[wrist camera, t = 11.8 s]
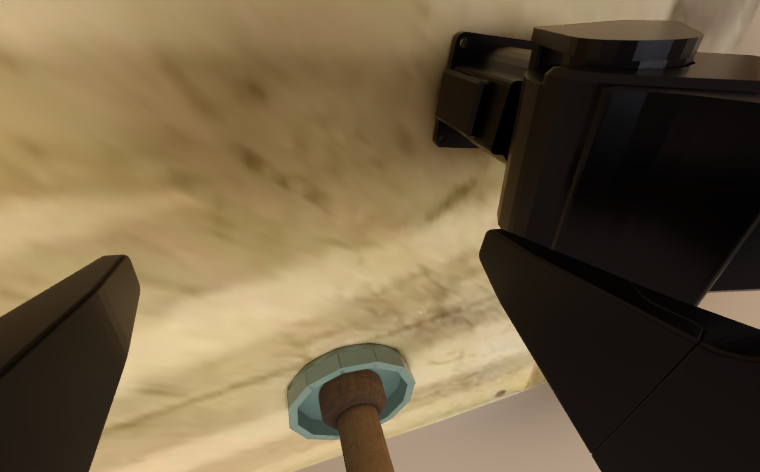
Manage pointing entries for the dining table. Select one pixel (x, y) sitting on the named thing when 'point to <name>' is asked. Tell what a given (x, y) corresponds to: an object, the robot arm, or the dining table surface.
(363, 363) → the glazed dish
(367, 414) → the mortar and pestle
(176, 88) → the dining table surface
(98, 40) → the dining table surface
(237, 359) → the dining table surface
